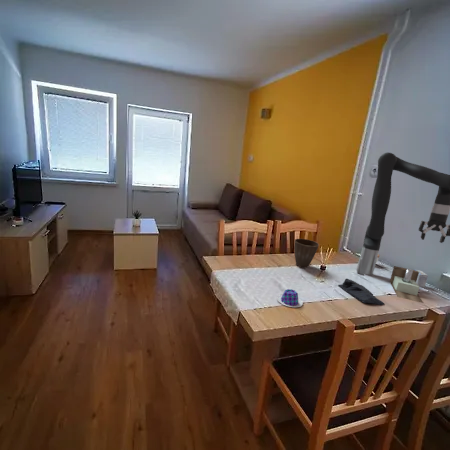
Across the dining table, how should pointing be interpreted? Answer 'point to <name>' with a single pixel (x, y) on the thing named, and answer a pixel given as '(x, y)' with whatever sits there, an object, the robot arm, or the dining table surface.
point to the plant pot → (304, 252)
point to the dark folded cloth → (359, 292)
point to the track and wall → (401, 273)
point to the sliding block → (405, 286)
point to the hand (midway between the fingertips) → (431, 241)
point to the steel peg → (408, 275)
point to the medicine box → (421, 278)
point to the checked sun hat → (290, 298)
